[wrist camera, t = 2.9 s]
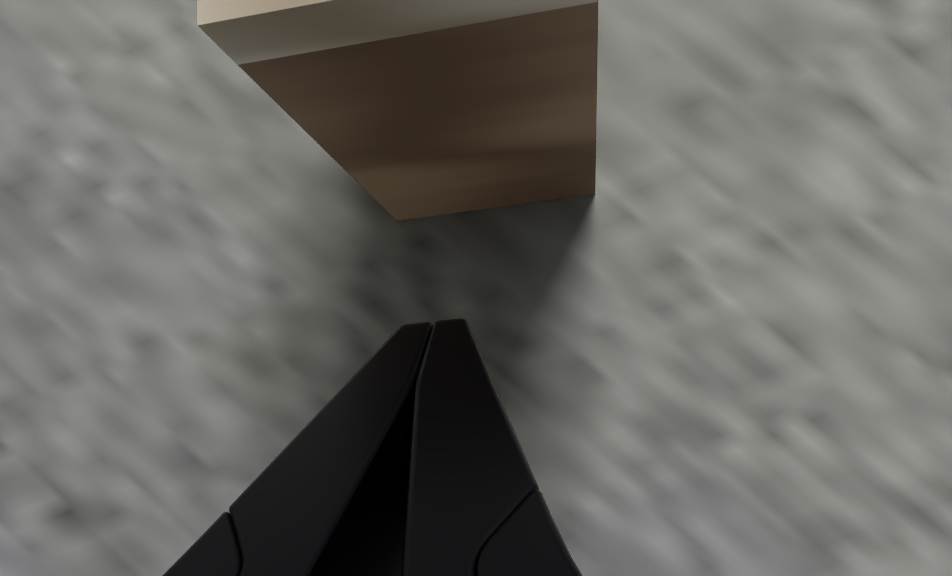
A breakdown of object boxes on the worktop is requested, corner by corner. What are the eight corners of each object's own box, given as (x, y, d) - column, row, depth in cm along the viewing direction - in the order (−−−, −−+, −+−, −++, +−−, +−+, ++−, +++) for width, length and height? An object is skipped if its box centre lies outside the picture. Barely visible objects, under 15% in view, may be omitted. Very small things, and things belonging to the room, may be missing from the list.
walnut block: (571, 9, 17) (552, -391, 9) (594, 194, 17) (598, -49, 8) (385, 42, 18) (195, -298, 9) (397, 220, 17) (197, 25, 9)
